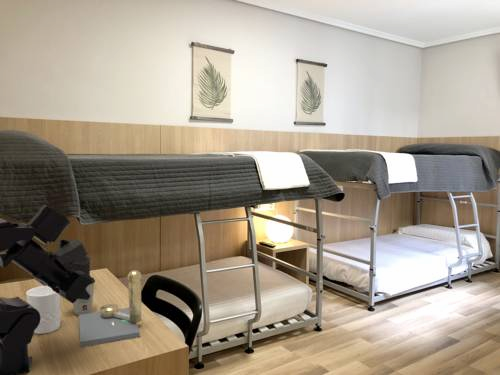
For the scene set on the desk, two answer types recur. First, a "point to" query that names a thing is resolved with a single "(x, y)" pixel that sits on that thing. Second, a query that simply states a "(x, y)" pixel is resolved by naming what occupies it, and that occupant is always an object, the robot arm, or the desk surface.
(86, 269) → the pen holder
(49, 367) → the desk surface
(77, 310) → the coffee cup
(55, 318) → the white cup
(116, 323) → the gray board
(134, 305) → the brass crank handle
